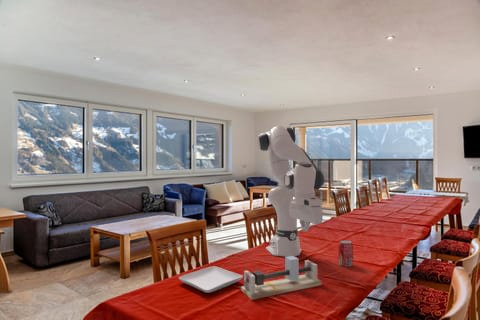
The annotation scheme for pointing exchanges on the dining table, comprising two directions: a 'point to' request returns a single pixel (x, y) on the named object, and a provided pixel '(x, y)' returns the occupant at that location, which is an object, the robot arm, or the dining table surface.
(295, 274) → the slide rail carriage
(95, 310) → the dining table surface
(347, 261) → the soda can
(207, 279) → the salad plate
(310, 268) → the linear slide rail
